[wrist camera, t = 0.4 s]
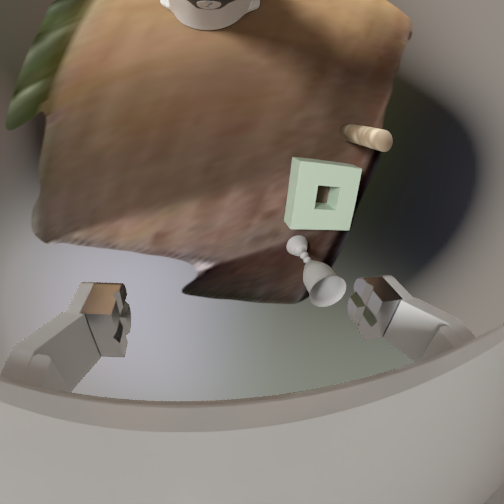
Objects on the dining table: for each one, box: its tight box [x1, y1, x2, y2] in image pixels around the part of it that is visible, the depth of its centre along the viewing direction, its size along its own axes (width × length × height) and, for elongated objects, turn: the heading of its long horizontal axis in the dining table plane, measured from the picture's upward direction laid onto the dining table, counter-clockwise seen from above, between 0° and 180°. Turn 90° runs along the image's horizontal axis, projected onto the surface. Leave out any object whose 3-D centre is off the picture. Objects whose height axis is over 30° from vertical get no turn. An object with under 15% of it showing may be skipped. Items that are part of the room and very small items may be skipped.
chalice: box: [287, 235, 346, 307], centre depth 55 cm, size 7×7×18 cm
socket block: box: [284, 157, 362, 230], centre depth 55 cm, size 14×14×4 cm
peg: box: [340, 123, 393, 152], centre depth 46 cm, size 4×4×13 cm
